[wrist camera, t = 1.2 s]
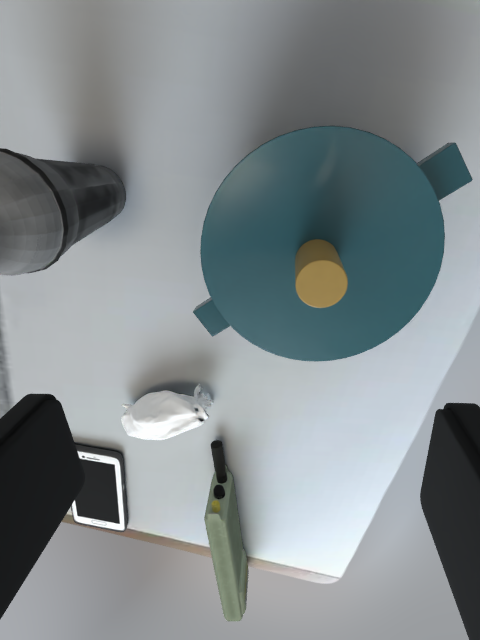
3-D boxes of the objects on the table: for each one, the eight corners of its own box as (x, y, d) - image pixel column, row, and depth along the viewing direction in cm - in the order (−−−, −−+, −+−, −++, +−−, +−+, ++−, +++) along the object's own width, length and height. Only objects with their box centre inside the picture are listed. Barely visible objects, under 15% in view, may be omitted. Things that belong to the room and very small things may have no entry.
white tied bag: (187, 359, 40) (114, 405, 41) (191, 399, 34) (105, 452, 35) (212, 388, 42) (142, 430, 43) (219, 430, 36) (138, 478, 37)
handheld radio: (227, 567, 53) (203, 435, 42) (249, 568, 52) (231, 435, 42) (220, 621, 47) (191, 482, 36) (246, 622, 46) (223, 482, 36)
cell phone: (77, 517, 52) (73, 523, 51) (64, 441, 46) (60, 446, 45) (128, 527, 52) (126, 533, 51) (123, 451, 45) (120, 457, 44)
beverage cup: (61, 138, 30) (-270, 124, 13) (144, 158, 30) (-70, 175, 12) (62, 223, 34) (-201, 310, 16) (137, 242, 34) (-42, 352, 16)
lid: (160, 225, 24) (124, 245, 19) (365, 63, 19) (391, 32, 14) (281, 383, 28) (279, 436, 23) (477, 286, 23) (529, 325, 18)
